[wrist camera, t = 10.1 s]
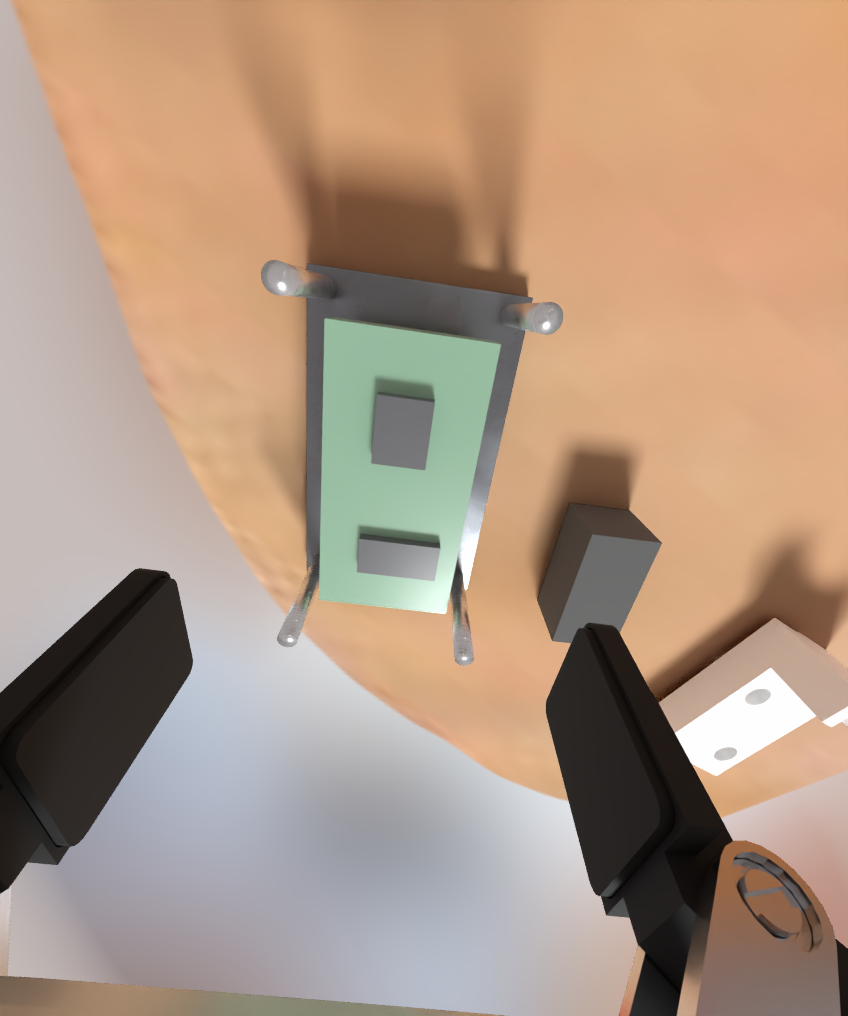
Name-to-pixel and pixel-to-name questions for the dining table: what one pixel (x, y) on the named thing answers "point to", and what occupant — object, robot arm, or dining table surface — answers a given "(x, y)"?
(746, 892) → the robot arm
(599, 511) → the block
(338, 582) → the board
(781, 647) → the bracket
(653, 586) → the dining table surface
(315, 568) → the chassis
